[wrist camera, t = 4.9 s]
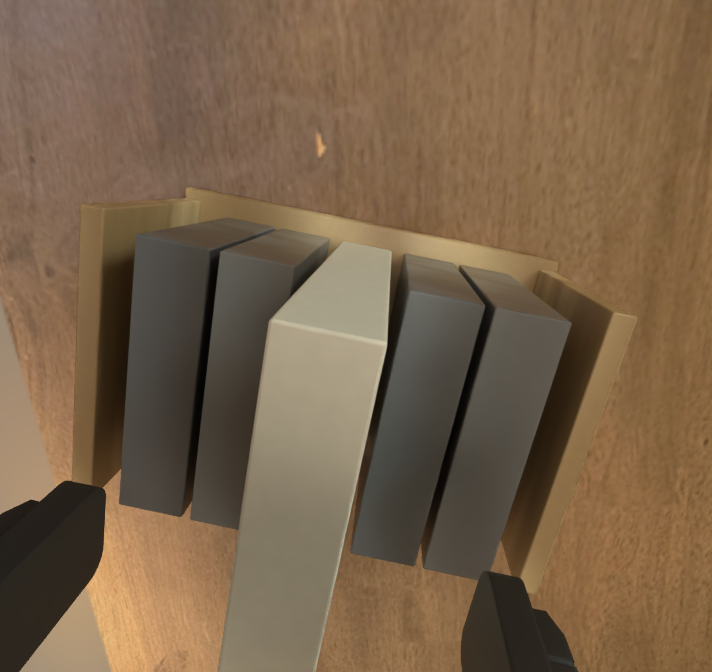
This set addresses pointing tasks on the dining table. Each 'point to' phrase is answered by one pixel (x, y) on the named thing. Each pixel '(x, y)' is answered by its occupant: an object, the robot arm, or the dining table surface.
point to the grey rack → (396, 386)
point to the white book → (306, 460)
